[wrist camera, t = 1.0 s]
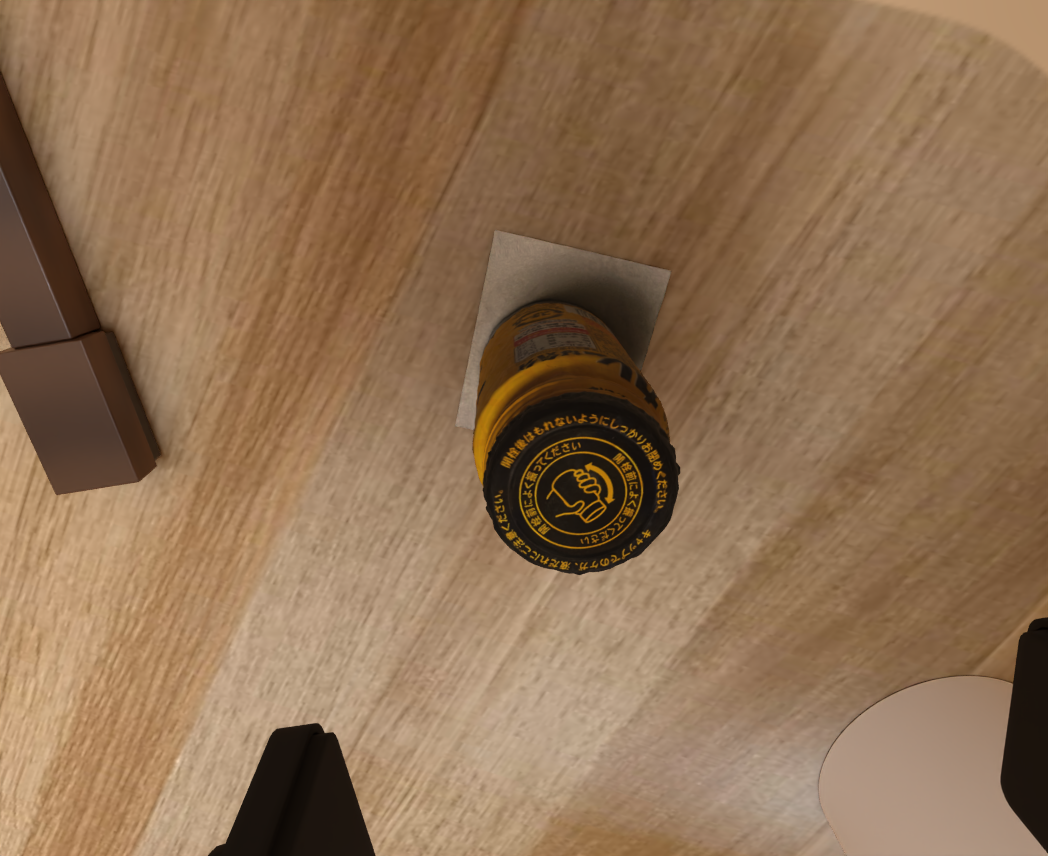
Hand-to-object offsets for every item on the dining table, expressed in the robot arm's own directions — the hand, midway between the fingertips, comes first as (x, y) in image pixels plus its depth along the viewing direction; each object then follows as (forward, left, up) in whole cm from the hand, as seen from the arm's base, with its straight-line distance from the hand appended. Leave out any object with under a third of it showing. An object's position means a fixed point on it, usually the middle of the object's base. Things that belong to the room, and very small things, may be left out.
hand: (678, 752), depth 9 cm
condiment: (0, 0, -21) cm, 21 cm away
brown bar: (-7, -19, -21) cm, 29 cm away
